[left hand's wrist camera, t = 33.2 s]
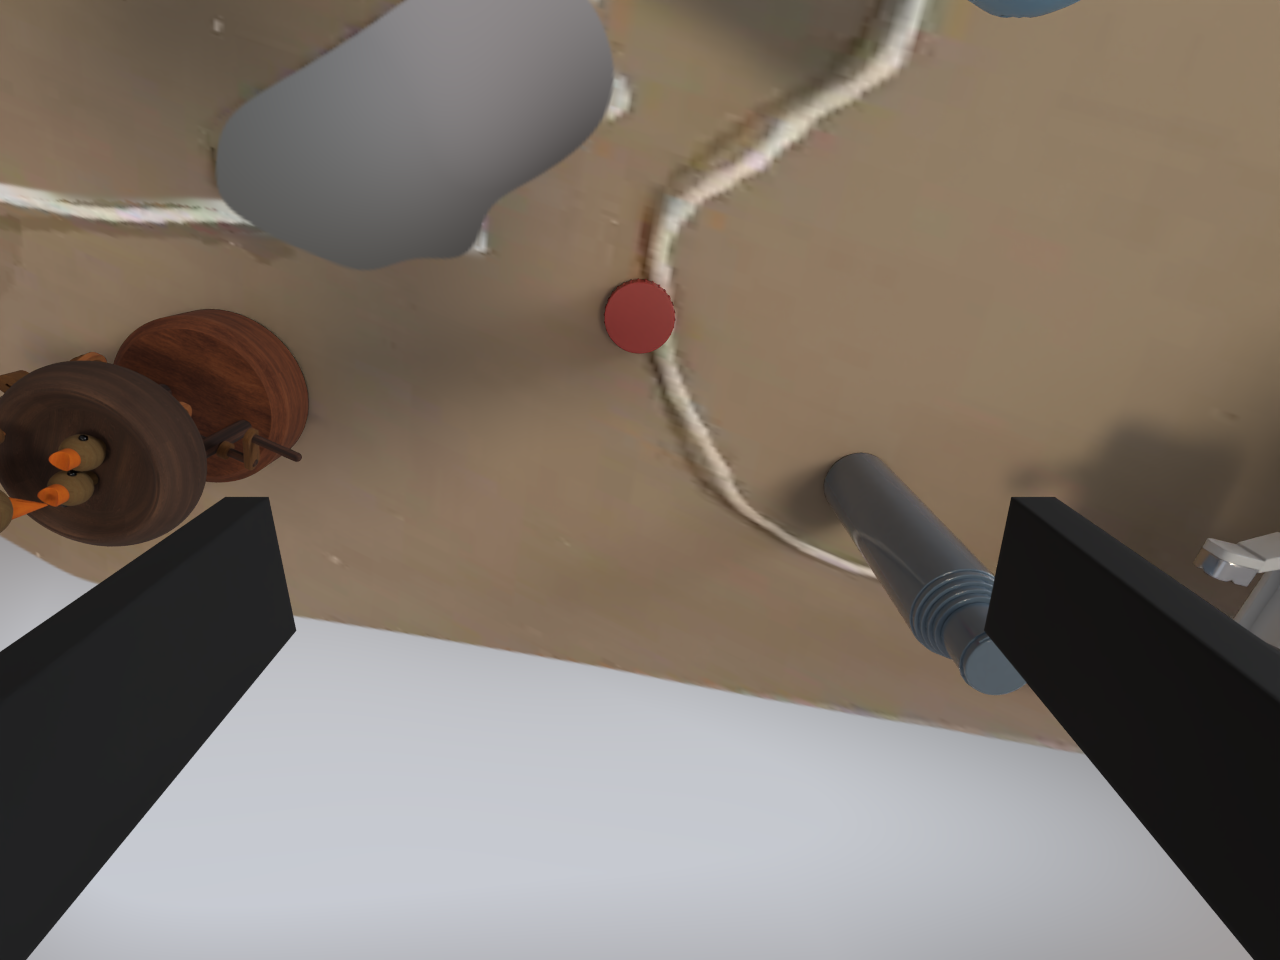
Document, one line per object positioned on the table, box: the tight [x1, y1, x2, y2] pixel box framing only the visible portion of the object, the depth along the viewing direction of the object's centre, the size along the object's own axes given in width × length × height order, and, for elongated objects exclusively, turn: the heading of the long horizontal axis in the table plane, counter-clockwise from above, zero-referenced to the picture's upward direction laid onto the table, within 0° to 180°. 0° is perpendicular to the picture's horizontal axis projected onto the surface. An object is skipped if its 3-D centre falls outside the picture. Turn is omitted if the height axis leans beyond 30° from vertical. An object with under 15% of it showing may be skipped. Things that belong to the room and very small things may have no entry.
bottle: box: [824, 453, 1026, 695], centre depth 39 cm, size 5×5×21 cm
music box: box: [0, 309, 308, 546], centre depth 37 cm, size 15×11×20 cm
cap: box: [604, 279, 675, 353], centre depth 43 cm, size 4×4×2 cm
